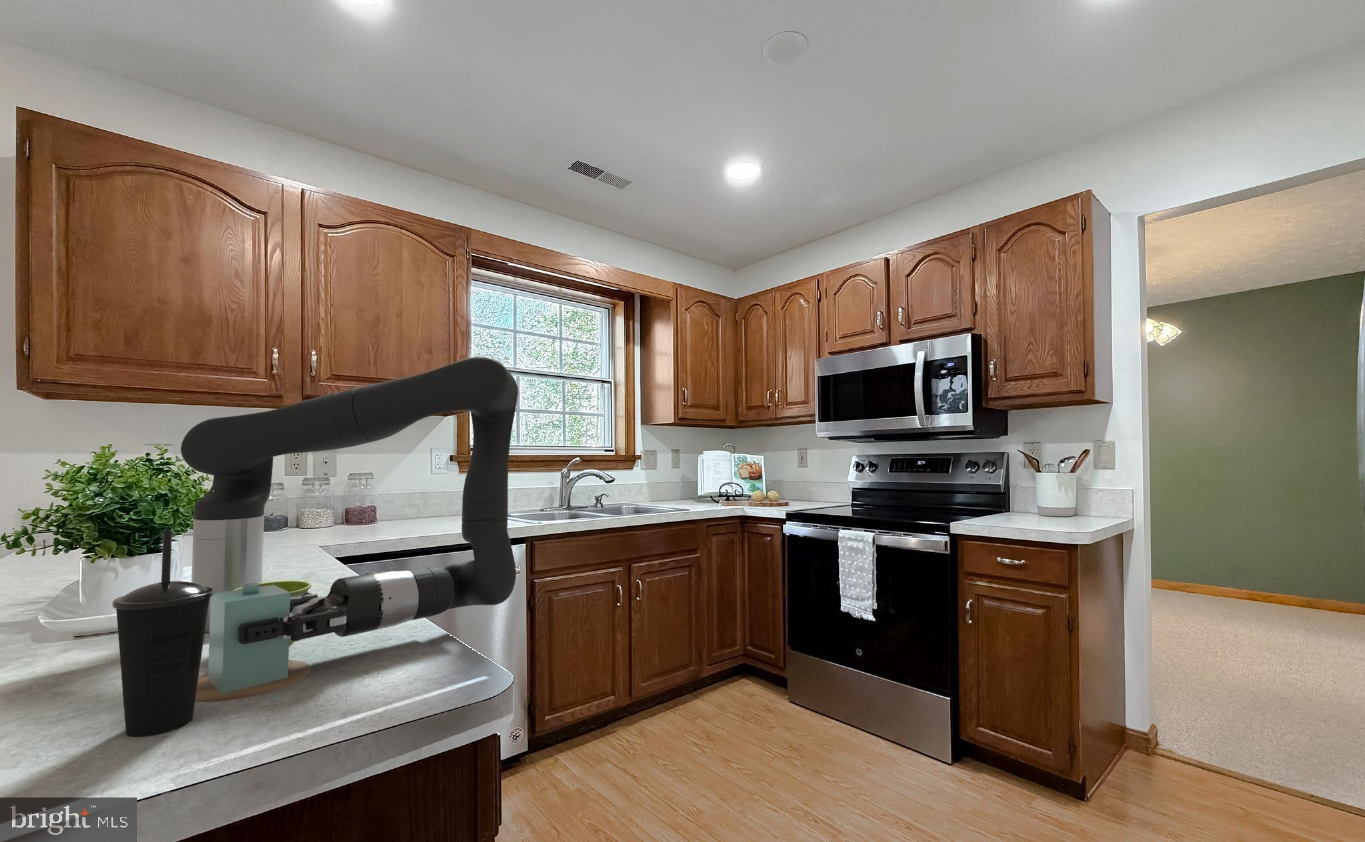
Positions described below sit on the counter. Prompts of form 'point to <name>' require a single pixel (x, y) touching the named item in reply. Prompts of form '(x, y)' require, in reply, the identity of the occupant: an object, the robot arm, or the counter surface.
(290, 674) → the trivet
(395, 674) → the counter surface
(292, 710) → the counter surface
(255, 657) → the teal flask block
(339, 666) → the counter surface
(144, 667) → the drinking cup
